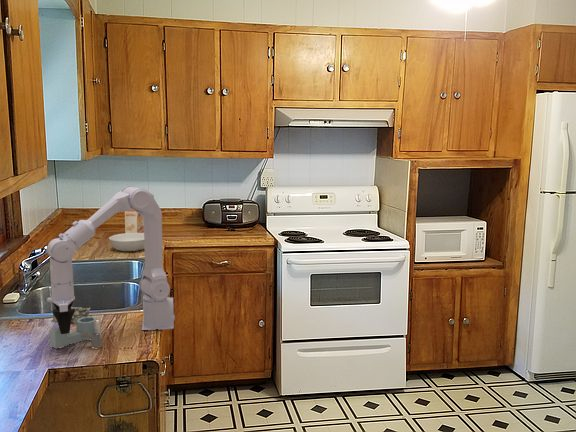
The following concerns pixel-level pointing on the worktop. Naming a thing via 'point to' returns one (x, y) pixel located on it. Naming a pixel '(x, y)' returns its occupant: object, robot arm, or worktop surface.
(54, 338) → the link
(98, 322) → the pintle
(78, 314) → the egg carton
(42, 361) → the worktop surface
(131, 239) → the serving bowl
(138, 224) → the coffeecake box
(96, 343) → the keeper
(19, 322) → the worktop surface
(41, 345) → the worktop surface
